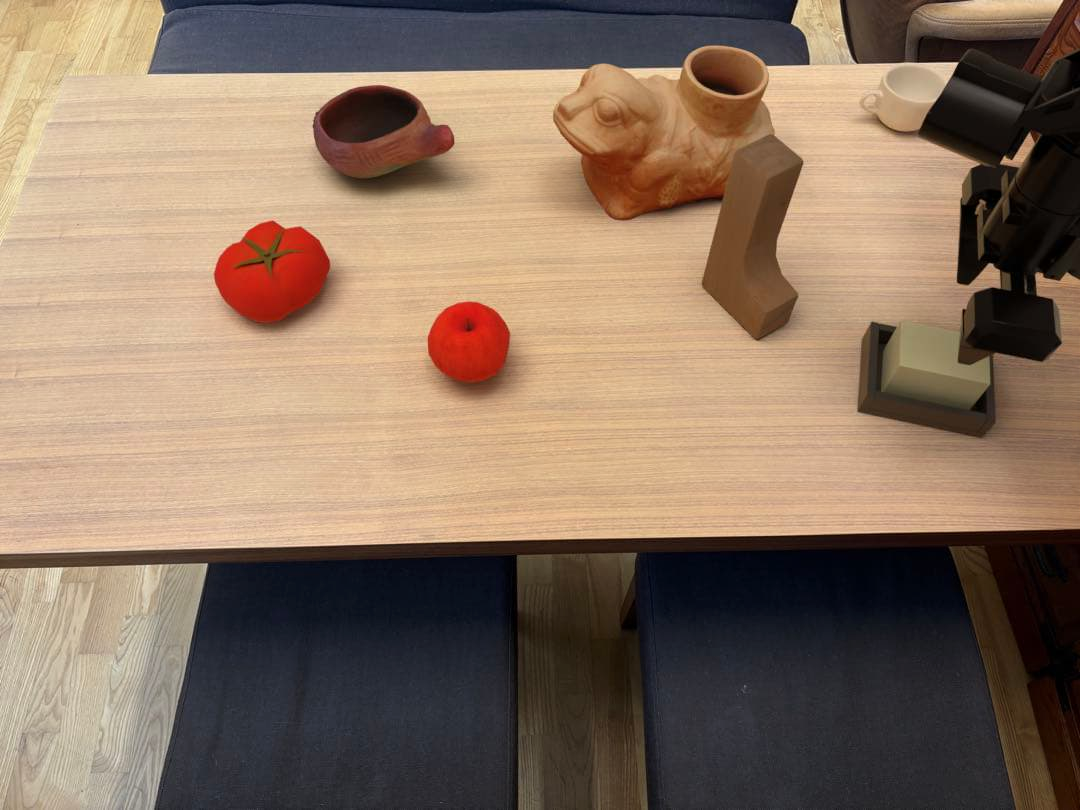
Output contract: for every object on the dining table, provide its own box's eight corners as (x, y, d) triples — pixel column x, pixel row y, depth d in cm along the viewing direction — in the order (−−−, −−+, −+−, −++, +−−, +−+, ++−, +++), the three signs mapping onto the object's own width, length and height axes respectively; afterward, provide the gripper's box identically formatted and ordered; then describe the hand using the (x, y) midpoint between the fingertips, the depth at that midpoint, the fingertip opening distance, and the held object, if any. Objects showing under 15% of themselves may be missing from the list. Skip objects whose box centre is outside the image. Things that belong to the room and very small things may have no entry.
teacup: (919, 97, 107) (936, 60, 102) (941, 138, 103) (960, 100, 98) (842, 103, 106) (856, 65, 102) (862, 143, 102) (877, 106, 98)
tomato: (209, 304, 88) (188, 261, 82) (283, 240, 93) (268, 195, 87) (279, 348, 85) (261, 306, 79) (351, 279, 90) (340, 235, 84)
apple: (519, 392, 82) (518, 346, 76) (437, 406, 81) (430, 361, 75) (503, 328, 86) (501, 280, 80) (426, 341, 85) (418, 293, 79)
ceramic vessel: (533, 158, 100) (534, 44, 88) (735, 115, 105) (763, 0, 92) (572, 240, 93) (579, 129, 80) (787, 190, 98) (825, 76, 85)
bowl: (316, 201, 96) (300, 144, 89) (325, 126, 103) (311, 68, 96) (458, 197, 97) (453, 140, 90) (458, 122, 104) (453, 65, 97)
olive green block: (965, 368, 83) (988, 337, 79) (966, 414, 80) (990, 384, 76) (882, 351, 84) (901, 319, 80) (880, 395, 81) (899, 365, 77)
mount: (980, 362, 85) (993, 345, 82) (982, 438, 80) (996, 422, 77) (861, 338, 86) (871, 321, 84) (857, 411, 81) (866, 395, 79)
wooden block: (789, 322, 87) (843, 190, 72) (756, 341, 86) (804, 210, 71) (731, 267, 91) (771, 131, 76) (699, 285, 90) (733, 149, 75)
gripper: (1194, 306, 56) (1066, 429, 69) (1156, 125, 65) (1051, 263, 79) (1017, 272, 57) (925, 399, 70) (1006, 100, 67) (928, 239, 80)
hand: (963, 321), depth 75 cm, fingers open, 9 cm apart
